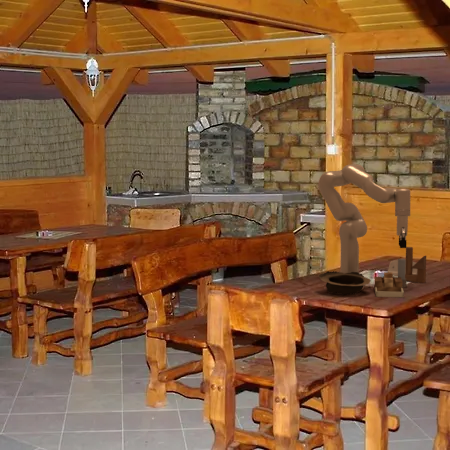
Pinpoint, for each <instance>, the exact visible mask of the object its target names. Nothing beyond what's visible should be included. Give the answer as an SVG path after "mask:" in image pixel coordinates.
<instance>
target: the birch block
mask: <svg viewBox="0 0 450 450" xmlns="http://www.w3.org/2000/svg"><path fill="white" fill-rule="evenodd" d="M384 287H393V278H384Z"/></svg>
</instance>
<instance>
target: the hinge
mask: <svg viewBox="0 0 450 450" xmlns="http://www.w3.org/2000/svg"><path fill="white" fill-rule="evenodd" d="M416 263H417V262H415V261H413V266H414V265H415V264H416ZM405 271H406V259H405ZM387 272H392V273H393V275H394V276H393V277H398V259H395V260H391V261H390V262H389V266H388V270H387ZM412 274H416V275H417V269H413V268H412Z"/></svg>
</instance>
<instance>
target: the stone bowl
mask: <svg viewBox="0 0 450 450" xmlns="http://www.w3.org/2000/svg"><path fill="white" fill-rule="evenodd" d="M318 278H319V279H320V280H321V282H325V283H326V284H325V287H326V291H327V292H328V293H329V294H338V295H341V296H346V295H348V296H350V295H356V294H357V293H359V292H361V291H362V290H363V288H364V286H367V285H370V283H371V281H372V280H371V279H370V278H367V277H365V276H364V275H363V274H362V273H361V272H359V273H358V272H351V273H340V271H335V270H334V271H326V272H323V273H320V274H318Z"/></svg>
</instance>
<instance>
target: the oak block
mask: <svg viewBox="0 0 450 450" xmlns="http://www.w3.org/2000/svg"><path fill="white" fill-rule="evenodd" d="M383 277H384V278H393V277H394V276H393V273H392V272H388V271H387V272H386V271H385V272H383Z"/></svg>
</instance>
